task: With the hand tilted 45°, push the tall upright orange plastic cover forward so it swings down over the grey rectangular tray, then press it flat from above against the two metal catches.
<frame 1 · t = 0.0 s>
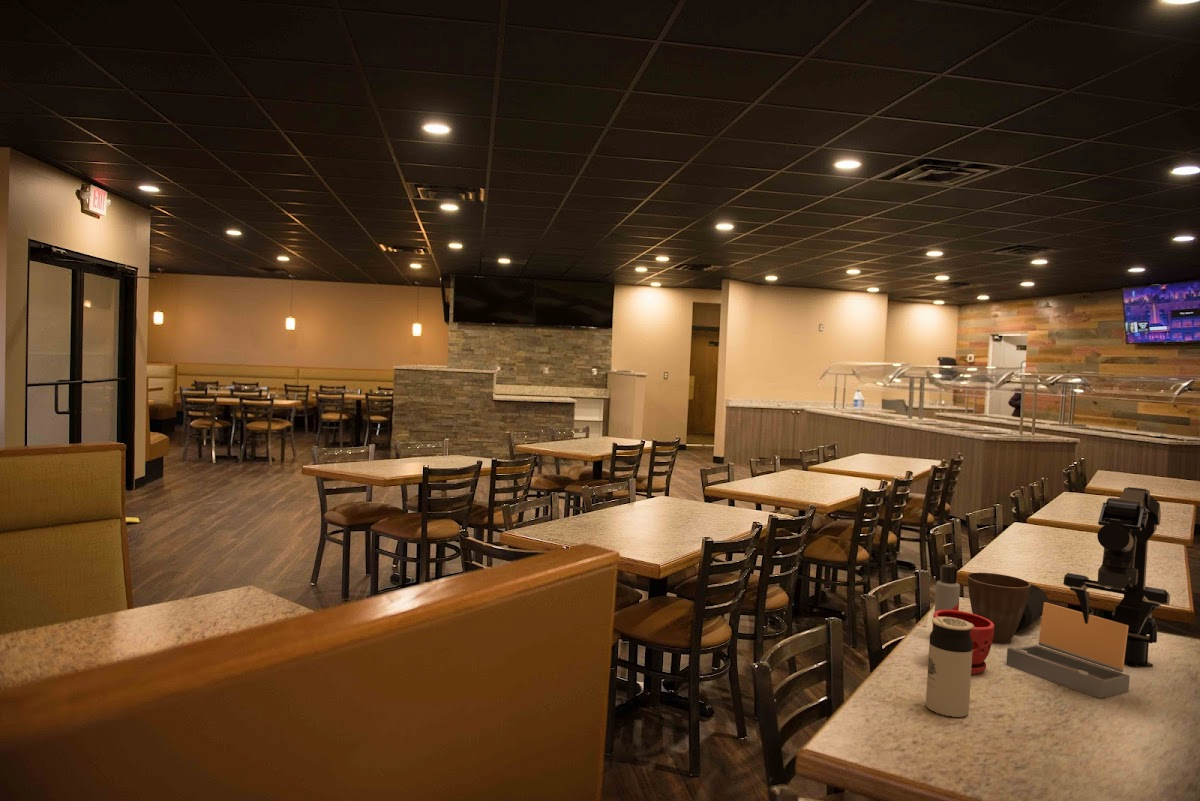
hand: (1111, 629, 167), 15 cm above the table, tool pointing down, fingers open, 9 cm apart
grey rectangular tray: (1065, 677, 180), on the table
plant pot 2: (960, 668, 183), on the table
portable speaker: (1019, 625, 222), on the table
travel mug: (946, 711, 158), on the table
plant pot: (994, 640, 206), on the table
duct cover: (1081, 635, 183), point 9 cm above the table, hinge at 96.0°
lotion bottle: (944, 641, 203), on the table
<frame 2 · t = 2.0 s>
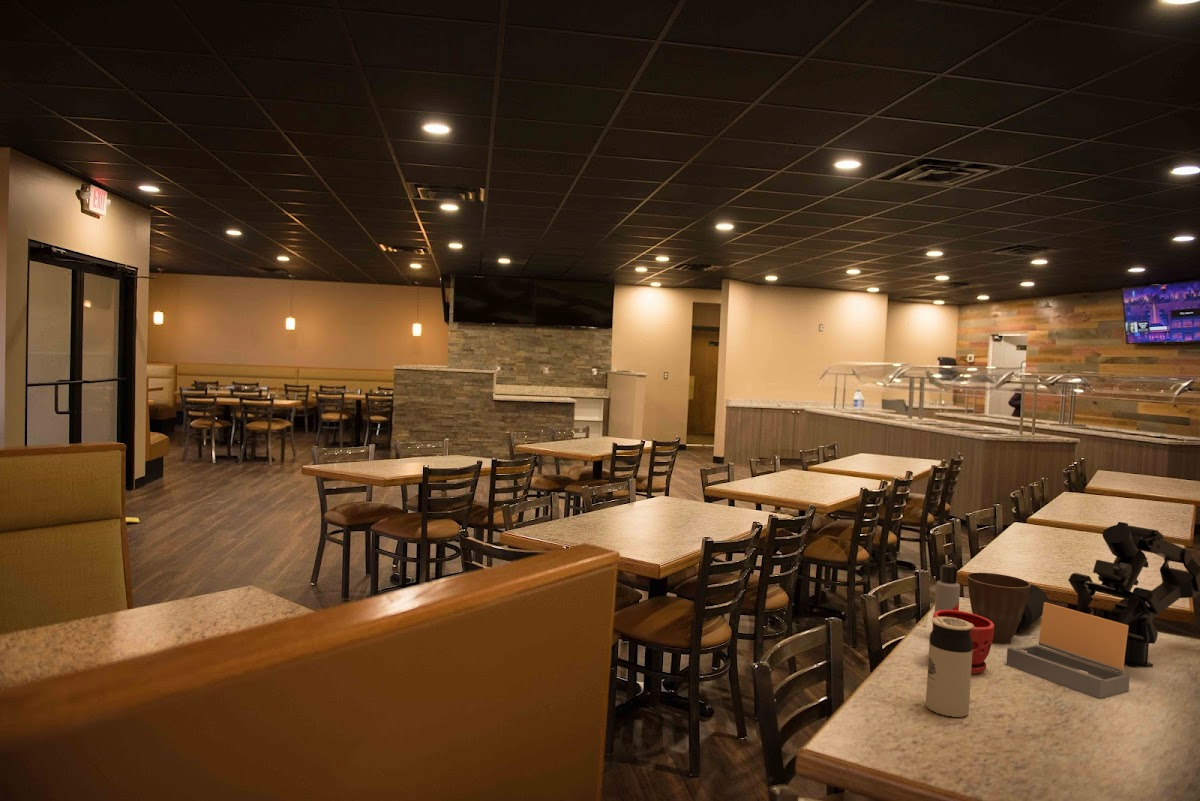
hand: (1098, 620, 185), 12 cm above the table, tool tilted 45°, fingers open, 9 cm apart
nothing on the table moved.
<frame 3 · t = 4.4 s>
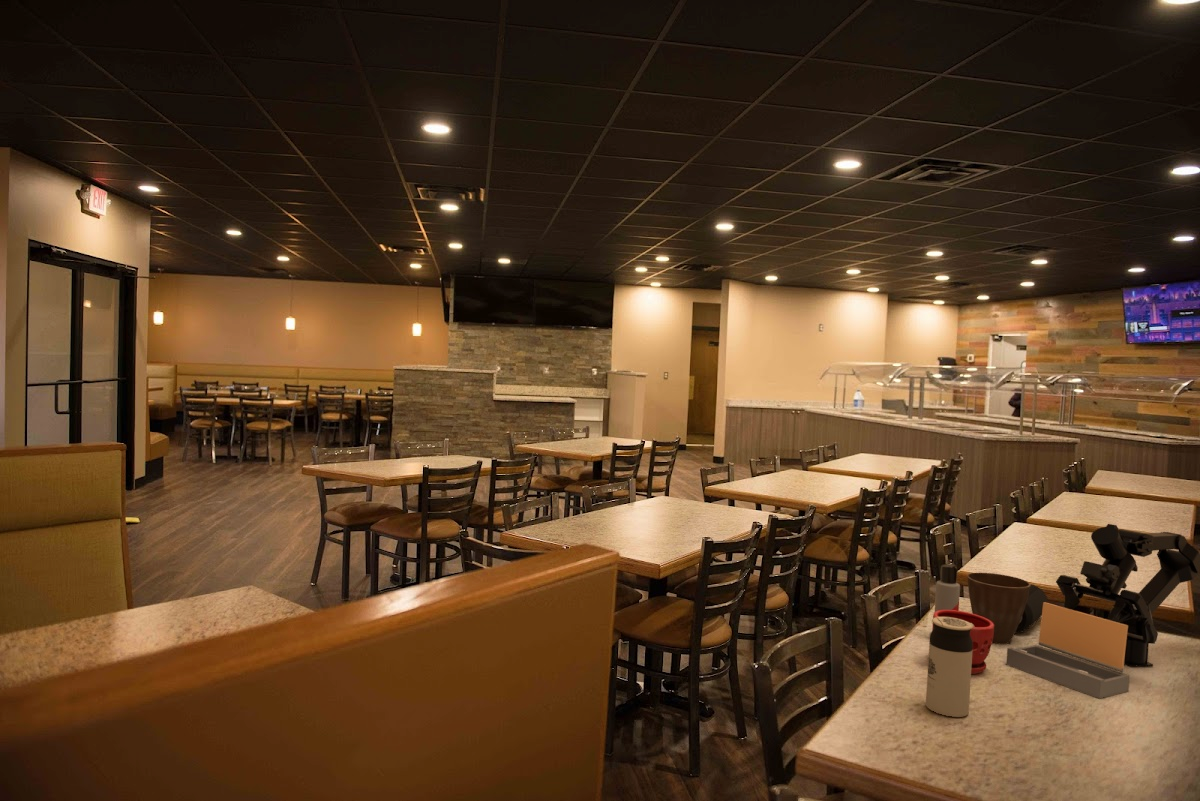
hand: (1084, 622, 183), 12 cm above the table, tool tilted 45°
duct cover: (1081, 635, 183), point 9 cm above the table, hinge at 94.6°, touching gripper
everything else where it was.
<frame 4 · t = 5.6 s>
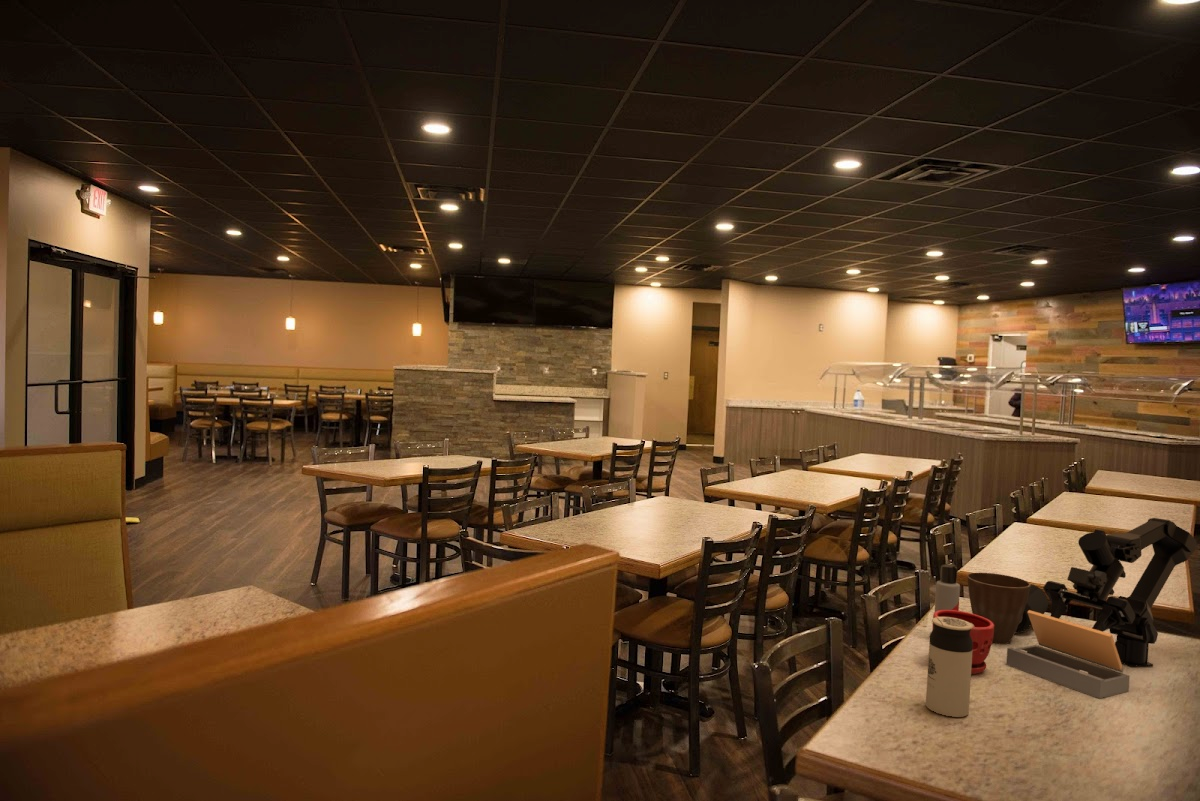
hand: (1070, 629, 180), 11 cm above the table, tool tilted 45°
duct cover: (1073, 640, 181), point 8 cm above the table, hinge at 57.2°, touching gripper
everything else where it was.
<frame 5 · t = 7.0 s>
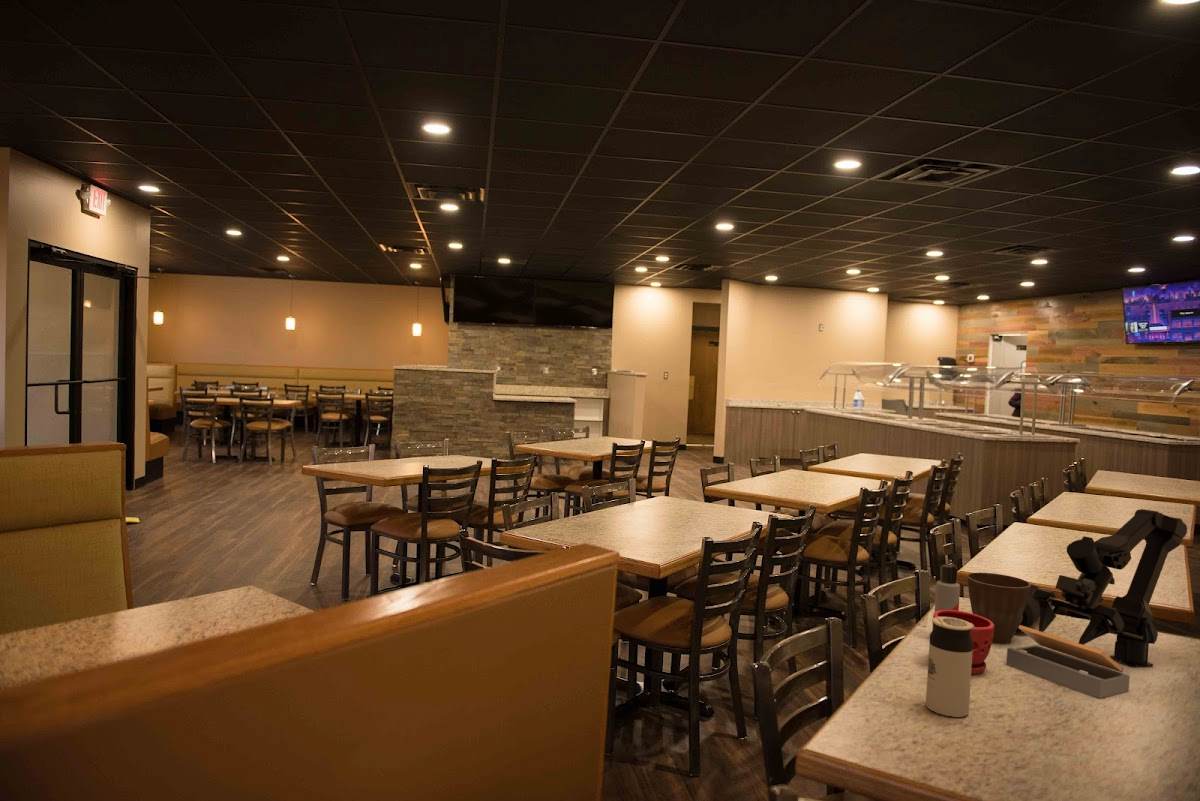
hand: (1059, 637, 178), 10 cm above the table, tool tilted 45°
duct cover: (1069, 647, 180), point 7 cm above the table, hinge at 30.2°, touching gripper
everything else where it was.
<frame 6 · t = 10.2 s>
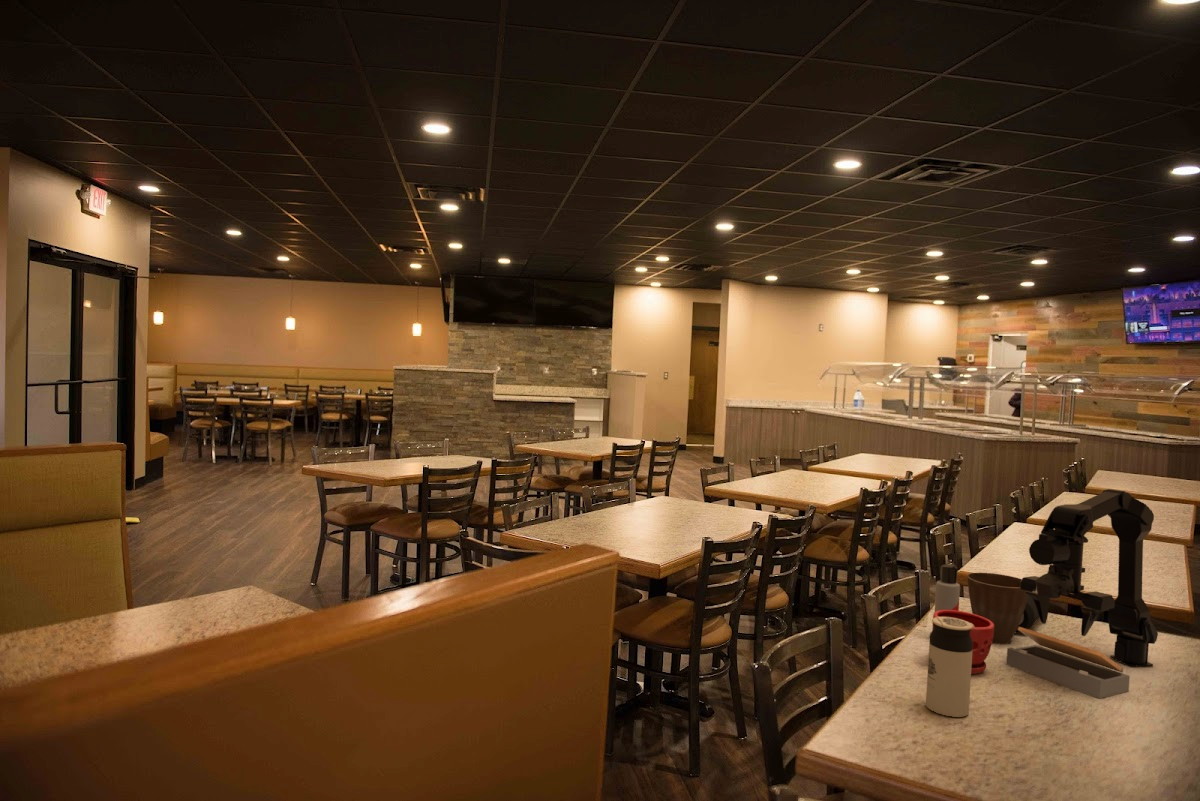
hand: (1063, 629, 179), 11 cm above the table, tool pointing down, fingers open, 9 cm apart
duct cover: (1069, 648, 180), point 7 cm above the table, hinge at 27.7°
everything else where it was.
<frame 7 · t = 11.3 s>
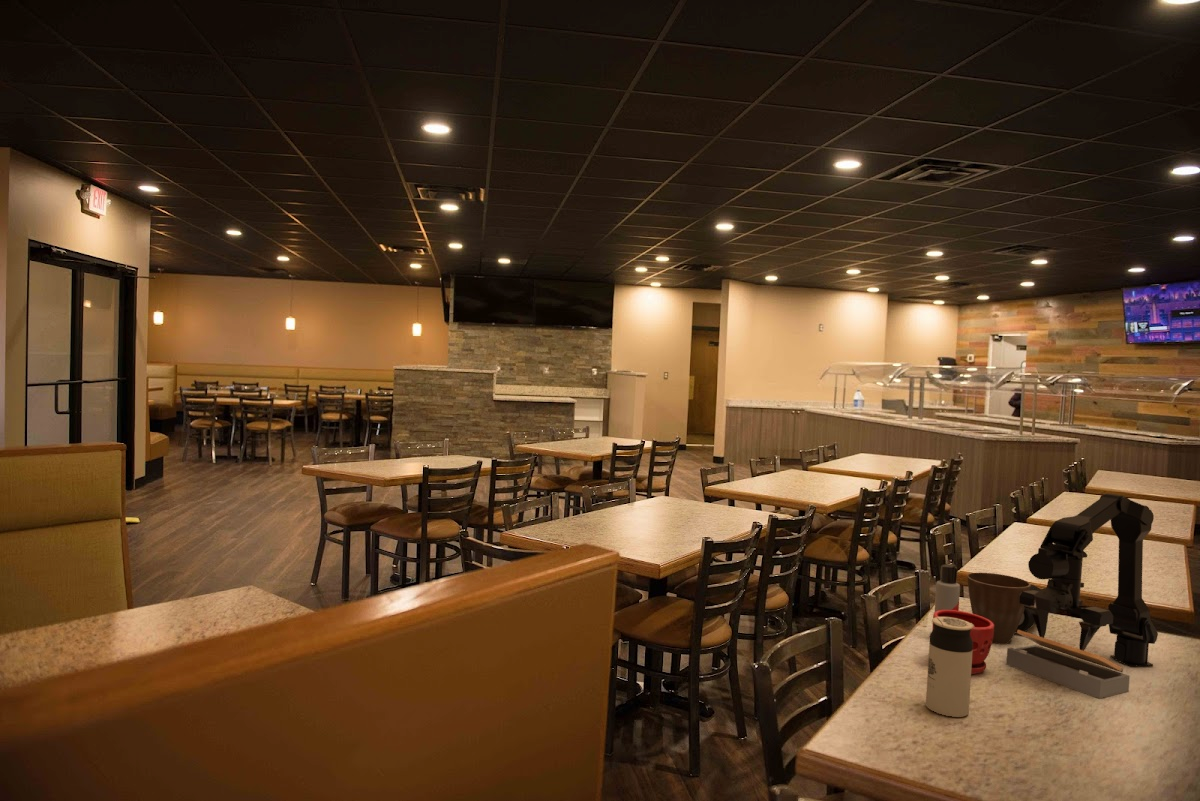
hand: (1061, 644, 179), 8 cm above the table, tool pointing down
duct cover: (1068, 650, 180), point 6 cm above the table, hinge at 23.2°, touching gripper
everything else where it was.
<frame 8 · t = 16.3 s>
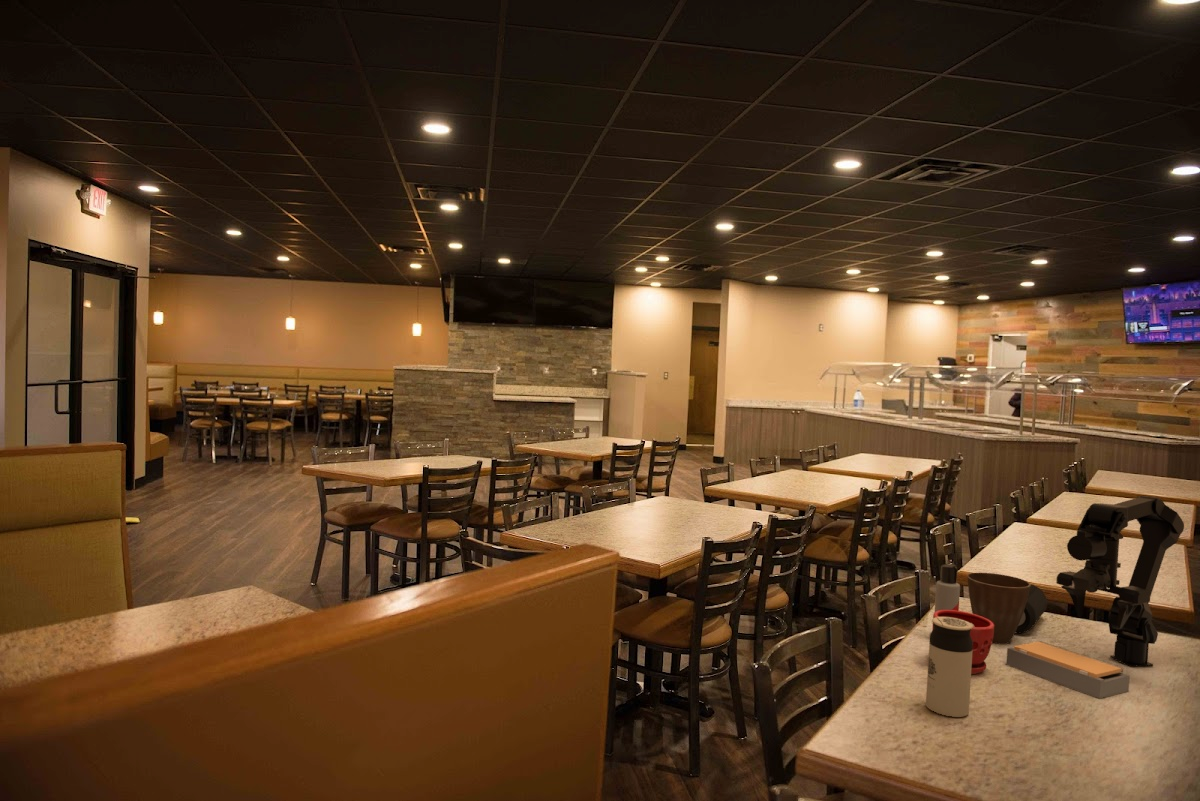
hand: (1099, 622, 186), 12 cm above the table, tool pointing down, fingers open, 9 cm apart
duct cover: (1067, 658, 180), point 4 cm above the table, hinge at 0.0°, touching grey rectangular tray
everything else where it was.
at the end: duct cover at +0° (first picture: +96°) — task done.
